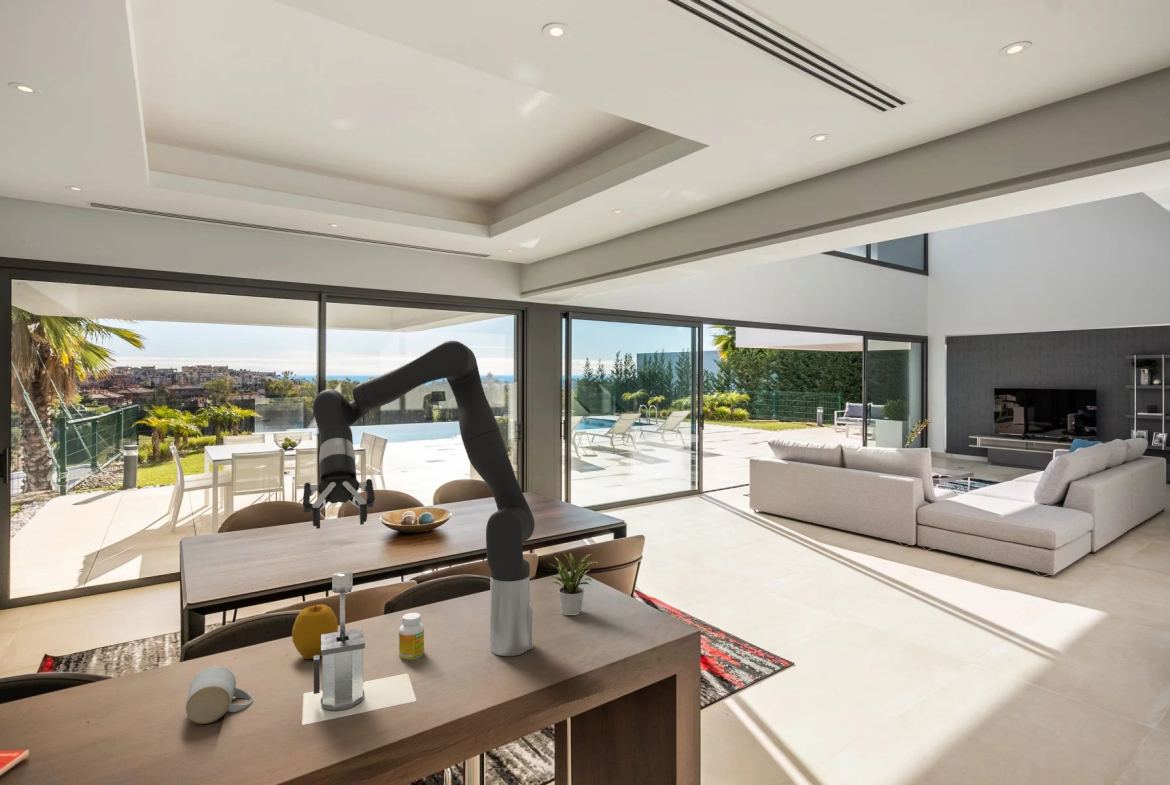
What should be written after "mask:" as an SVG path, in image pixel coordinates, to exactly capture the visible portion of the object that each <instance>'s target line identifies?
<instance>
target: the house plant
mask: <svg viewBox="0 0 1170 785" xmlns="http://www.w3.org/2000/svg"><path fill="white" fill-rule="evenodd" d="M562 553H563V555H564V557H566V559H567V561H568V565H569V572H570V573H569V572H568V570H567V567H566V566H565V564H564V563H563V562H562V561H561V560H560V559H559V558H558V557H556V556H554V558H555V560H556V561H557V563H558V567H556V566H555V565H554V564H552V563H550V565H551V566H553V567H555V568H556V569H557V570H558V573H556V575H557V576H556V575H551V577H552V578H554V579H556V580H558V581H559V582H558V581H552V582H551V584H555V585H556V584H557V585H559V586H561V587H559V588H558V597H559V603H560V610H561V614H562V613H564V614H577V613H580V612H581V613H582V606H583V599H584V593H585V588H583V587H581V586H580V585H589V586H590V583H589V582H587V581H590V582H591V583H593V582H592V578H590V577H585V578H583V577H584V576H585V575H586V574H587V573H588V572H589V571H590V569H587V570H586V568H587V567H588V566H590V565H591V564H594V563H596V564H597V563H598V561H593V560H591V561H588V562H587V563H584V562H585V561H586V560H587V558H588V557H589V556H592V553H590V554H587V555H585V556H584V557H583V558H582V559H581V560H580V561H579V562H578V563H577V566H576V563H575V558H574V556H573V555H572V553H571V552H569V556H568V555H566V554H565V552H562ZM575 566H576V567H575ZM575 568H576V569H575ZM558 575H559V576H560V577H558ZM560 582H561V583H562V584H561V583H560ZM581 613H580V614H581Z"/></svg>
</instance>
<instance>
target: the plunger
mask: <svg viewBox="0 0 1170 785" xmlns="http://www.w3.org/2000/svg"><path fill="white" fill-rule="evenodd" d="M331 578H332V579H331V582H332V583H331V584H332V586H331V588H332V593H334V594H339V632H340V641H345V631H346V593H349V592H350V591H352V590H353V572H352V571H346V570H345V571H338V572H335V573H333V574H332V575H331Z"/></svg>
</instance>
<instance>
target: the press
mask: <svg viewBox="0 0 1170 785" xmlns="http://www.w3.org/2000/svg"><path fill="white" fill-rule="evenodd" d="M364 635H365V634H364V630H363V628H362V627H361V628H355V629H348V630H345V641H340V631H338V632H334V633H328V634H321V656H320V657H321V664H322V665H321V669H322V670H321V672H322V675H321V676H322V678H321V679H322V680H321V683H322V686H321V688H322V689H321V688H320V685H321V684H320V657H319V655H316V656H314V658H313V691H314V694H317V693H320V690H322V698H321V707H322V708H323V709H324V710H327V711H344V710H348V709H351V708H353V707H355V706H357V705H359V704H360V703H361V702H362V701H363V700H364V690H363V682H364V649H366V641H365V636H364Z"/></svg>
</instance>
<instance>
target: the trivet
mask: <svg viewBox="0 0 1170 785" xmlns="http://www.w3.org/2000/svg"><path fill="white" fill-rule="evenodd" d="M363 690H364V700H363V701H362V702H361V703H360V704H359V705H357V706H355V707H353V708H351V709H348V710H344V711H327V710H324V709H323V708H322V707H321V698H322V689H320V693H317V694H314V690H313V691H309V692H304V693H303V694H302V719H301V725H302V726H305V725H309V724H311V725H312V724H315V723H319V722H325V721H330V720H333V719H339V718H343V717H348V716H352V715H353V716H354V715H358V714H361V713H366V712H367V713H368V712H372V711H376V710H381V709H386V708H391V707H395V706H401V705H405V704H410V703H414V702H417V698H416V693H415V691H414V688H413V685H412V682H411V679H410V676H409V673H408V672H407V673H403V674H398V675H391V676H388V677H381V678H377V679H371V680H366V681H363Z"/></svg>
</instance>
